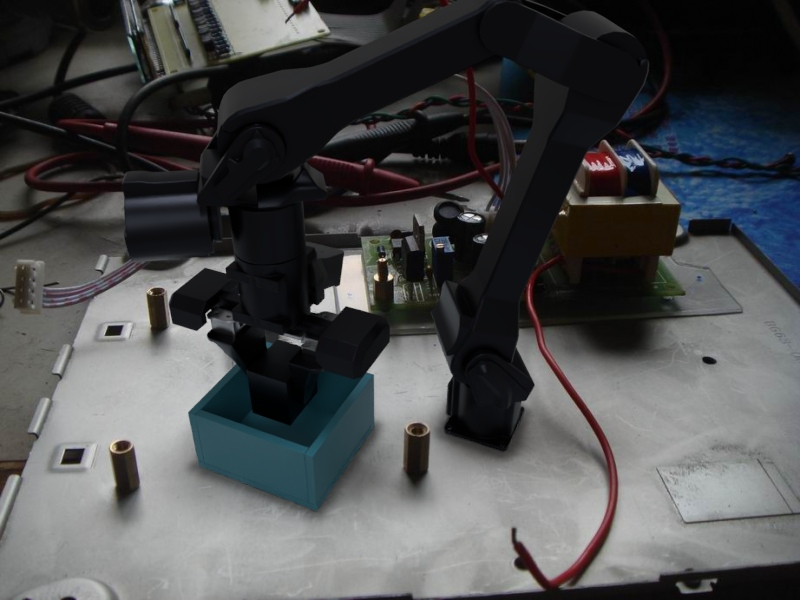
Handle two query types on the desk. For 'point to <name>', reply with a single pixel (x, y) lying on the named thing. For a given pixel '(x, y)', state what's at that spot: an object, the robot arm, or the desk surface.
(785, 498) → the desk surface
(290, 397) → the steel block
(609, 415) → the desk surface
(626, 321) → the desk surface
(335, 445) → the bin
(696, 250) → the desk surface
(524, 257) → the robot arm
